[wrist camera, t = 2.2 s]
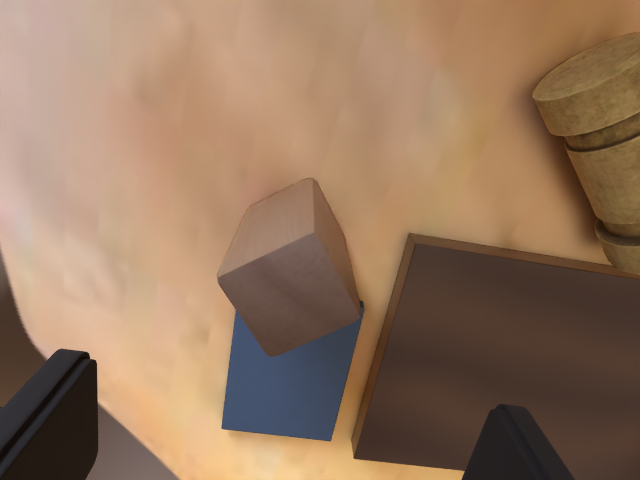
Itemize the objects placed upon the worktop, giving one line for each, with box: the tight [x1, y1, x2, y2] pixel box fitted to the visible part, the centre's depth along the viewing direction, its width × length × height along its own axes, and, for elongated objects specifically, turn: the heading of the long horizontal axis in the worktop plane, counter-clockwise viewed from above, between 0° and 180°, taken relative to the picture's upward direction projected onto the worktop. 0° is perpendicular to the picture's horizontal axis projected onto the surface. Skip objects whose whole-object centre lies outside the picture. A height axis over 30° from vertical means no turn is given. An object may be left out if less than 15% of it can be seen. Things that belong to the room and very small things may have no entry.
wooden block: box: [217, 178, 361, 357], centre depth 18 cm, size 4×4×8 cm
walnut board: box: [351, 233, 640, 480], centre depth 25 cm, size 15×20×2 cm
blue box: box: [222, 301, 365, 441], centre depth 25 cm, size 10×7×1 cm
